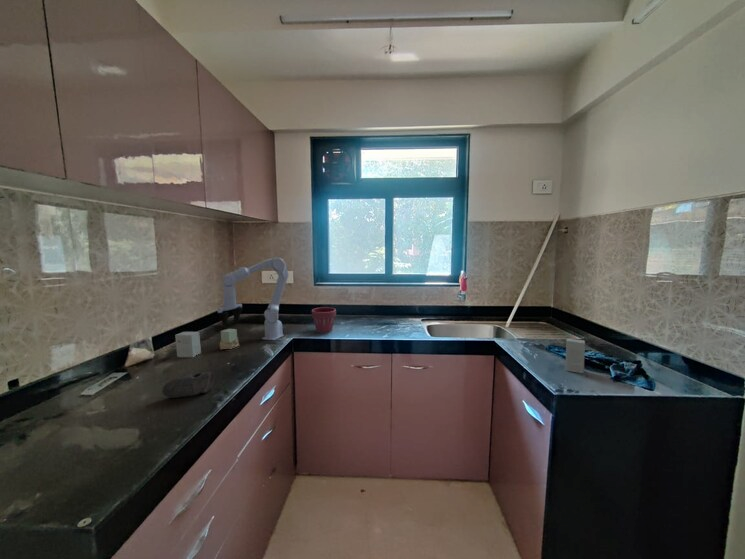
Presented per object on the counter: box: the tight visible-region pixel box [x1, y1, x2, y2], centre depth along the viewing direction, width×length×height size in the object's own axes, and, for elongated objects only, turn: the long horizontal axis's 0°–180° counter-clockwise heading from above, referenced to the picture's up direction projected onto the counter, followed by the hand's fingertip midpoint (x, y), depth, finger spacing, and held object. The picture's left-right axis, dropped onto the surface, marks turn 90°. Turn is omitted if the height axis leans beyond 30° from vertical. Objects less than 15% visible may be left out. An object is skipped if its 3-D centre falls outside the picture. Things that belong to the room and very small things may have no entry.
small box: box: [174, 331, 202, 358], centre depth 138 cm, size 8×6×10 cm
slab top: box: [219, 337, 239, 348], centre depth 148 cm, size 6×6×2 cm
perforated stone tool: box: [161, 371, 215, 399], centre depth 100 cm, size 15×5×7 cm, turn 111°
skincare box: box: [564, 338, 586, 374], centre depth 117 cm, size 6×4×12 cm
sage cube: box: [220, 328, 238, 342], centre depth 147 cm, size 5×5×5 cm
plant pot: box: [311, 306, 337, 334], centre depth 177 cm, size 14×14×13 cm
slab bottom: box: [219, 342, 240, 350], centre depth 148 cm, size 6×6×2 cm
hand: (231, 323), depth 154 cm, fingers open, 7 cm apart
